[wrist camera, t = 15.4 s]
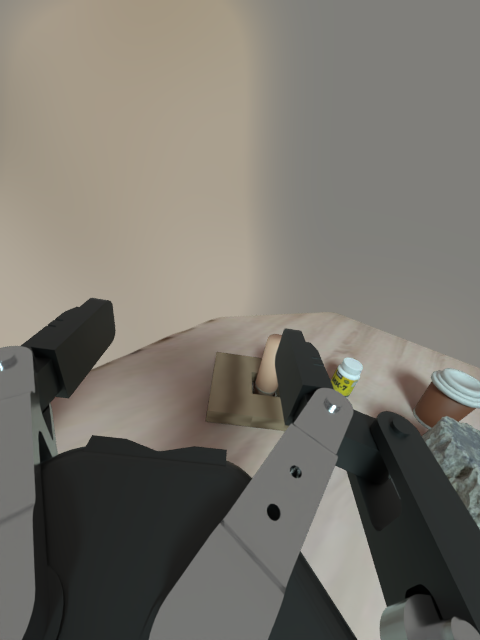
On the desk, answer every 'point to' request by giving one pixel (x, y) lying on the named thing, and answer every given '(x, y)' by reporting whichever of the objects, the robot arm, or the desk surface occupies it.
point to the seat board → (241, 395)
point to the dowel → (268, 368)
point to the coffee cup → (448, 397)
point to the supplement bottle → (346, 376)
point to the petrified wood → (458, 459)
